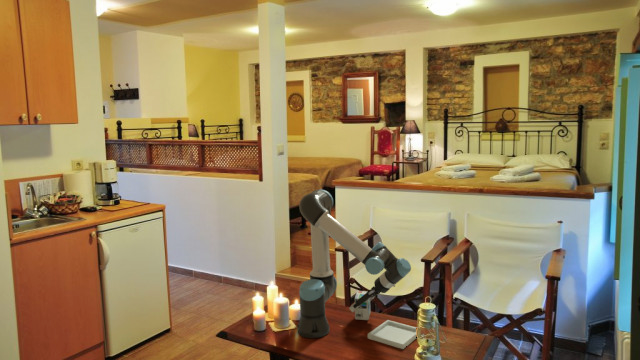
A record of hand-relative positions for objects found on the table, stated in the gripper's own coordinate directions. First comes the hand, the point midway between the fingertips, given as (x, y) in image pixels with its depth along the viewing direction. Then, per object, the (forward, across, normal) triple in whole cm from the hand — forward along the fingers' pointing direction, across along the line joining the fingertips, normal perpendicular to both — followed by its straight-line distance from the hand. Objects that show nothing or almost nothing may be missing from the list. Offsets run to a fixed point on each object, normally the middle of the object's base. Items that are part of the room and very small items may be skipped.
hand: (358, 305), depth 246 cm
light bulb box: (+1, 0, -5) cm, 5 cm away
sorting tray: (-13, -7, -22) cm, 26 cm away
